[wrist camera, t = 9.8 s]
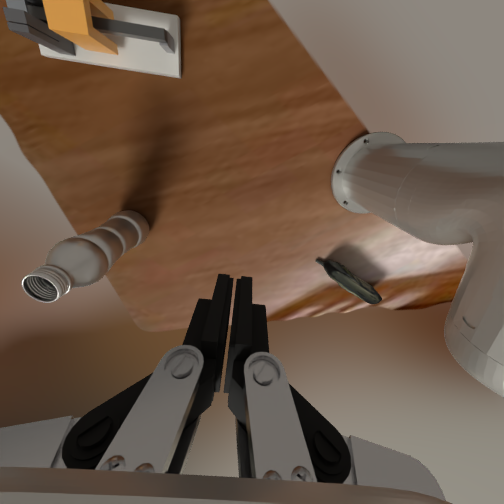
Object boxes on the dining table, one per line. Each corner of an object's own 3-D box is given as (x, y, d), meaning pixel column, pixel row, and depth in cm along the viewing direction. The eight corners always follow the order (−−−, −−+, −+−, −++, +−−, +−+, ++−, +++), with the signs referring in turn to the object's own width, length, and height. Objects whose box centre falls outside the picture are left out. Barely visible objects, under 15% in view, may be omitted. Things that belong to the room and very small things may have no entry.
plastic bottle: (111, 224, 40) (-5, 289, 22) (130, 199, 37) (18, 248, 20) (141, 246, 42) (57, 322, 24) (160, 223, 40) (84, 288, 22)
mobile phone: (386, 299, 42) (331, 264, 38) (375, 309, 43) (319, 276, 39) (373, 284, 46) (322, 251, 42) (363, 293, 47) (312, 262, 43)
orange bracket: (113, 11, 25) (79, -21, 20) (118, 55, 27) (88, 35, 22) (78, 5, 25) (35, -29, 20) (86, 50, 27) (48, 28, 22)
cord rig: (180, 19, 27) (156, -22, 20) (181, 78, 30) (160, 59, 23) (32, -7, 26) (-44, -59, 19) (47, 57, 29) (-15, 30, 22)
